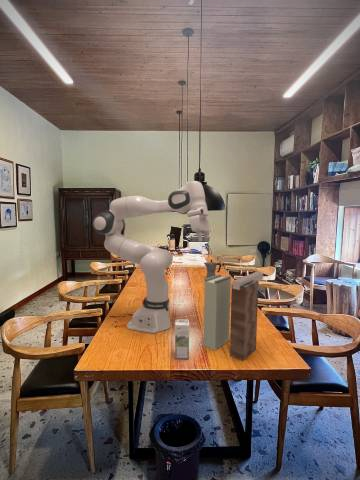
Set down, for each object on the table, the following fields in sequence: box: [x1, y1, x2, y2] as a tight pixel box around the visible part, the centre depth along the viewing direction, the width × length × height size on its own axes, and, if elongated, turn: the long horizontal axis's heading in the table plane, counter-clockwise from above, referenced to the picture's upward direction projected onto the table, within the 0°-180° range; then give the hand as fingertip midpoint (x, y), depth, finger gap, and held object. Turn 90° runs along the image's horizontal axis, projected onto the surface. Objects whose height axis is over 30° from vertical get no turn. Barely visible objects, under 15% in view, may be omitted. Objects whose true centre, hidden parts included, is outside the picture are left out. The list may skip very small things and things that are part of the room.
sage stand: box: [203, 274, 232, 351], centre depth 123 cm, size 12×6×30 cm, turn 140°
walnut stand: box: [229, 281, 260, 361], centre depth 115 cm, size 12×6×30 cm, turn 140°
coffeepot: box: [203, 259, 222, 279], centre depth 236 cm, size 15×9×18 cm, turn 70°
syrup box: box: [174, 319, 191, 360], centre depth 113 cm, size 6×6×14 cm
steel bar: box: [232, 271, 264, 290], centre depth 115 cm, size 22×3×3 cm, turn 140°
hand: (203, 241), depth 133 cm, fingers open, 8 cm apart
